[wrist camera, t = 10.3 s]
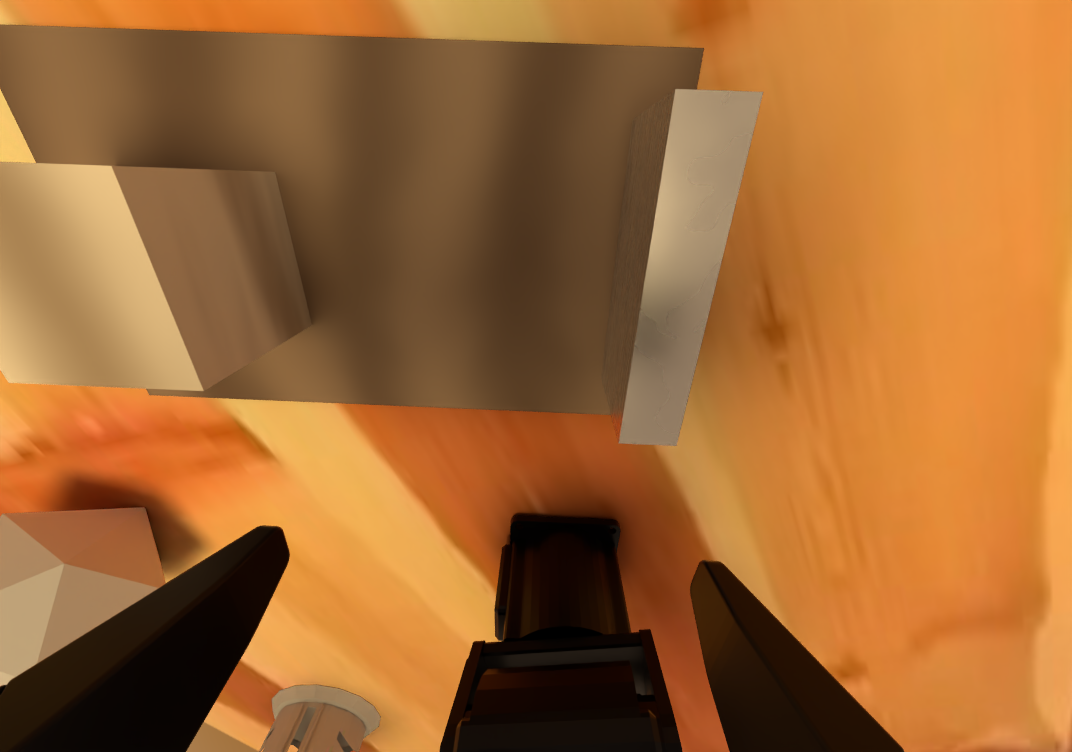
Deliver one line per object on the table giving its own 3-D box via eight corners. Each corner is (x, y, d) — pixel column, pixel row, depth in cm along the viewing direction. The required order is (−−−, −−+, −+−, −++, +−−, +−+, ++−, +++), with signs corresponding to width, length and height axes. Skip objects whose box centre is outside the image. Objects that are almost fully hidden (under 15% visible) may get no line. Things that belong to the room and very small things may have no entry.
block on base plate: (695, 55, 13) (792, -28, 8) (634, 407, 19) (665, 489, 14) (-1, 31, 13) (-350, -64, 8) (163, 387, 20) (25, 460, 14)
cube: (274, 171, 14) (111, 165, 9) (312, 325, 17) (203, 391, 12) (115, 165, 14) (-142, 156, 9) (177, 319, 17) (9, 382, 12)
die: (46, 451, 23) (-189, 633, 18) (91, 504, 19) (-202, 764, 13) (179, 508, 29) (32, 656, 24) (236, 558, 25) (72, 750, 20)
